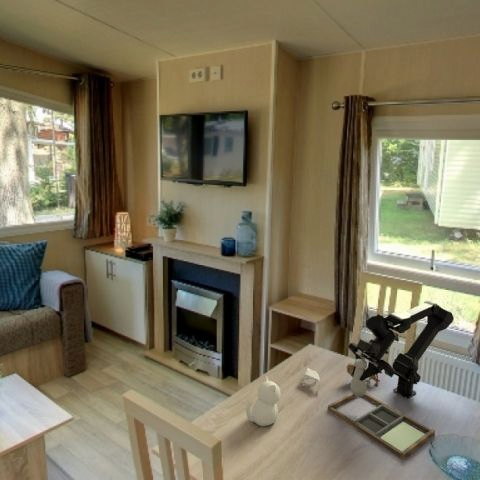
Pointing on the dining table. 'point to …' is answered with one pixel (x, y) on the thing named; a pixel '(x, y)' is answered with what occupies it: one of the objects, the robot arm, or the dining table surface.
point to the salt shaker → (357, 385)
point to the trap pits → (380, 420)
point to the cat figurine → (265, 404)
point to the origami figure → (311, 376)
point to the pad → (402, 436)
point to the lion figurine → (351, 367)
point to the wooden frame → (402, 455)
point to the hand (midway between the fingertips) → (356, 377)
